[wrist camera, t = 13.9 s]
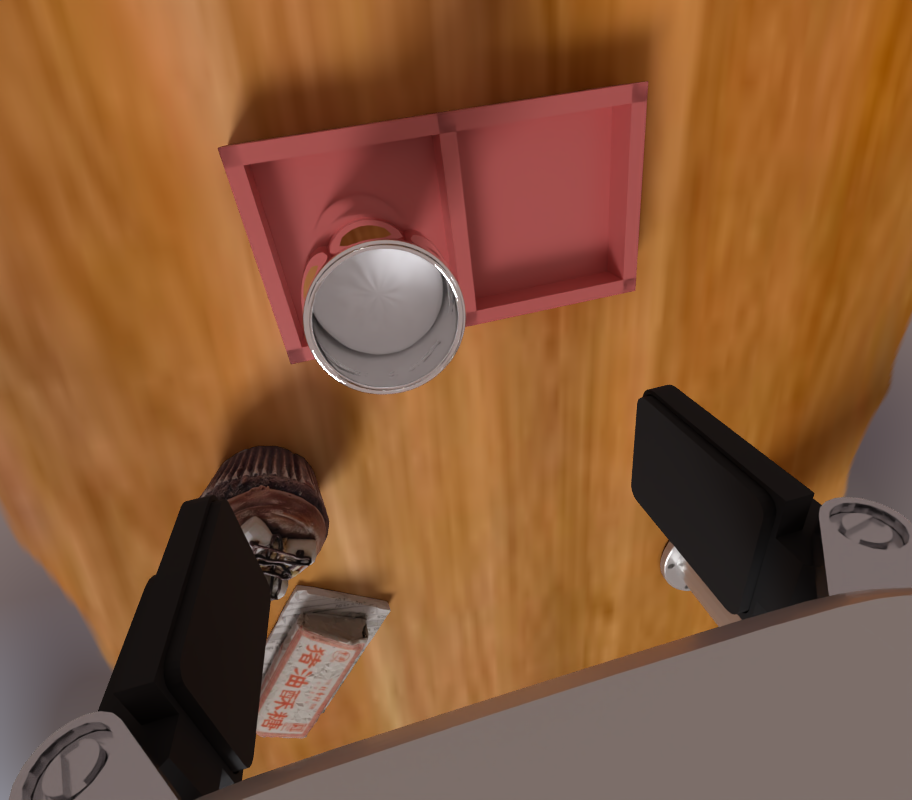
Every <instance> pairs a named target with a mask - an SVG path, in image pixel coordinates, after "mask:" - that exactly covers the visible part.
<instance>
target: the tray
mask: <svg viewBox="0 0 912 800" xmlns="http://www.w3.org/2000/svg"><path fill="white" fill-rule="evenodd" d="M647 92H648V81H647V82H638V83H630V84H621V85H614V86H608V87H601V88H595V89H588V90H582V91H575V92H569V93H562V94H556V95H549V96H543V97H536V98H530V99H523V100H517V101H510V102H504V103H497V104H491V105H484V106H478V107H471V108H465V109H458V110H452V111H445V112H439V113H432V114H426V115H419V116H413V117H406V118H400V119H393V120H387V121H380V122H374V123H367V124H361V125H354V126H348V127H341V128H335V129H328V130H322V131H315V132H309V133H303V134H296V135H290V136H283V137H277V138H270V139H264V140H257V141H251V142H244V143H238V144H231V145H226V146H222V147H219V148H218V151H219V154H220V157H221V159H222V162H223V165H224V168H225V171H226V174H227V177H228V180H229V183H230V186H231V189H232V192H233V195H234V198H235V201H236V204H237V207H238V210H239V213H240V215H241V218H242V221H243V224H244V227H245V230H246V233H247V236H248V239H249V242H250V245H251V248H252V251H253V254H254V257H255V260H256V263H257V266H258V269H259V272H260V274H261V277H262V280H263V283H264V286H265V289H266V292H267V295H268V298H269V301H270V304H271V307H272V310H273V313H274V316H275V319H276V322H277V325H278V328H279V330H280V333H281V336H282V339H283V342H284V345H285V348H286V351H287V354H288V357H289V360H290V363H291V364H295V363H299V362H304V361H309V360H313V359H315V358H314V356H313V354H312V353H311V351H310V349H309V346H308V344H307V341H306V338H305V334H304V328H303V314H302V306H301V279H302V273H303V269H304V265H305V261H306V258H307V255H308V253H309V250H310V248H311V247H312V245H313V243H314V237H315V230H316V226H317V223H318V221H319V219H320V217H321V215H322V214H323V212H324V211H325V210H326V209H327V208H328V207H329V206H330V205H331V204H332V203H334V202H335V201H337V200H338V199H341V198H343V197H346V196H349V195H356V194H363V195H370V196H373V197H376V198H379V199H381V200H383V201H385V202H386V203H388V204H389V205H390V206H391V207H392V208H394V209H395V211H396V212H397V213H398V214H399V215H400V217H401V218H403V219H405V220H407V221H408V222H410V223H412V224H413V225H415V226H416V227H417V228H418V229H420V230H421V231H422V232H423V233H424V234H425V235H426V236H427V237H428V238H429V239H430V240H431V241H432V242H433V243H434V244H435V246H436V247H437V249H438V250H439V251H440V253H441V254H442V256H443V257H444V259H445V261H446V262H447V264H448V266H449V268H450V270H451V272H452V274H453V275H454V277H455V278H456V280H457V282H458V284H459V286H460V289H461V291H462V294H463V298H464V302H465V309H466V323H465V327H467V326H472V325H477V324H481V323H486V322H491V321H495V320H500V319H505V318H509V317H514V316H519V315H523V314H528V313H533V312H538V311H542V310H547V309H552V308H556V307H561V306H566V305H570V304H575V303H580V302H584V301H589V300H594V299H598V298H603V297H608V296H612V295H617V294H622V293H626V292H631V291H635V286H636V270H637V254H638V238H639V221H640V205H641V189H642V173H643V157H644V141H645V124H646V108H647Z"/></svg>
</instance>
